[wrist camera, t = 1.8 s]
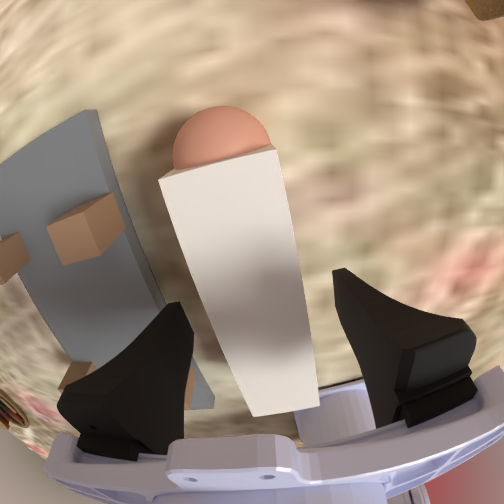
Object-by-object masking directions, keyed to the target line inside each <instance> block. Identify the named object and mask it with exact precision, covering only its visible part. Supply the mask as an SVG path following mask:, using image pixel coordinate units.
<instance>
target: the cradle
mask: <svg viewBox="0 0 504 504" xmlns="http://www.w3.org/2000/svg"><path fill="white" fill-rule="evenodd" d="M0 235H1V237H2V239H3V240H2V241H0V285H2V284H5V283H6V282H7V281H8V280H9V279H10V278H11V277H12V276H13V275H14V274H15V273H17V272H18V274H19V276H20V278H21V280H22V282H23V284H24V286H25V288H26V290H27V291H28V293H29V295H30V297H31V299H32V300H33V302H34V304H35V305H36V307H37V309H38V311H39V312H40V314H41V315H42V317H43V319H44V320H45V322H46V323H47V325H48V327H49V328H50V330H51V331H52V333H53V334H54V336H55V337H56V339H57V340H58V342H59V343H60V344H61V346H62V347H63V349H64V350H65V352H66V353H67V354H68V356H69V357H70V358H71V360H72V361H73V362H72V363H71V365H70V367H69V368H68V370H67V372H66V374H65V376H64V378H63V380H62V382H61V384H60V386H59V387H58V390H59V391H60V392H61V393H62V392H63V390H64V388H65V386H66V385H68V384H70V383H72V382H74V381H77V380H79V379H81V378H83V377H85V376H87V375H88V374H90V373H92V372H94V371H95V370H97V369H98V368H100V367H102V366H103V365H104V364H106V363H107V362H108V361H110V360H111V359H113V358H114V357H115V356H117V355H118V354H119V353H120V352H121V351H123V350H124V349H125V348H126V347H127V346H128V345H129V344H130V343H131V342H132V341H133V340H134V339H135V338H136V337H137V336H138V335H139V334H140V333H141V332H142V331H143V330H144V329H145V328H146V327H147V326H148V325H149V323H150V322H151V321H152V320H153V319H154V318H155V317H156V316H157V315H158V313H159V312H160V311H161V310H162V309H163V308H164V307H165V306H166V303H165V301H164V298H163V296H162V294H161V292H160V290H159V287H158V285H157V283H156V281H155V278H154V276H153V274H152V271H151V269H150V267H149V264H148V262H147V260H146V257H145V255H144V252H143V250H142V247H141V245H140V242H139V240H138V237H137V235H136V232H135V230H134V227H133V224H132V222H131V219H130V216H129V214H128V211H127V208H126V205H125V202H124V200H123V197H122V194H121V191H120V188H119V185H118V182H117V179H116V176H115V173H114V169H113V166H112V163H111V160H110V157H109V153H108V150H107V146H106V143H105V139H104V136H103V132H102V128H101V125H100V121H99V117H98V113H97V110H84V111H82V112H81V113H79V114H77V115H75V116H73V117H71V118H70V119H68V120H66V121H64V122H63V123H61V124H59V125H58V126H56V127H54V128H53V129H51V130H49V131H48V132H46V133H44V134H43V135H41V136H40V137H38V138H37V139H35V140H34V141H32V142H31V143H29V144H28V145H26V146H25V147H23V148H22V149H21V150H19V151H18V152H16V153H15V154H14V155H12V156H11V157H10V158H8V159H7V160H6V161H4V162H3V163H2V164H0ZM214 400H215V396H214V395H213V393H212V391H211V390H210V388H209V386H208V384H207V383H206V381H205V379H204V377H203V375H202V374H201V372H200V370H199V368H198V366H197V364H196V363H195V361H194V359H193V357H192V359H191V365H190V370H189V375H188V380H187V385H186V391H185V401H184V410H197V409H212V408H214Z"/></svg>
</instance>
